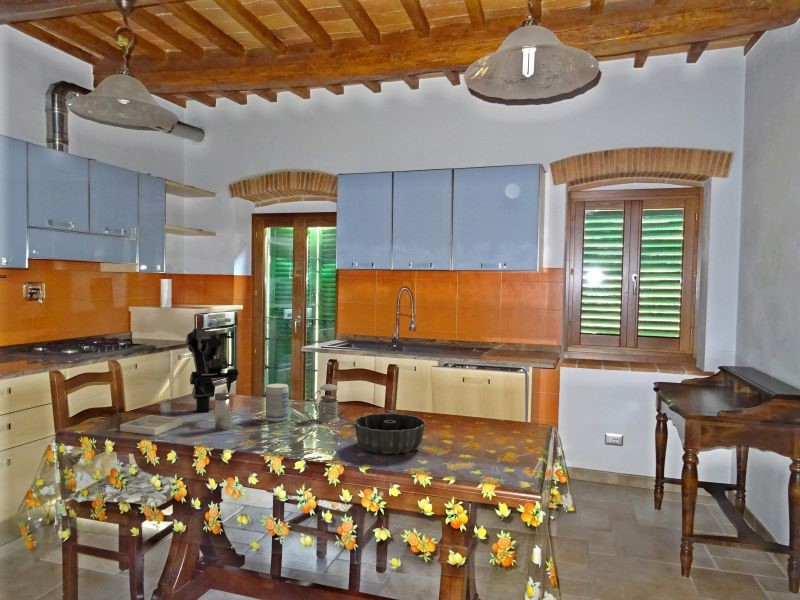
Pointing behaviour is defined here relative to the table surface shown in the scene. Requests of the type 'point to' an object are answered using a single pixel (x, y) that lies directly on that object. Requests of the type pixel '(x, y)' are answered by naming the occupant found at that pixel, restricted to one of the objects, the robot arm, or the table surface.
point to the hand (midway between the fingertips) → (217, 393)
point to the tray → (152, 425)
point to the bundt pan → (389, 432)
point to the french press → (328, 415)
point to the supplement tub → (276, 402)
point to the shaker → (222, 411)
